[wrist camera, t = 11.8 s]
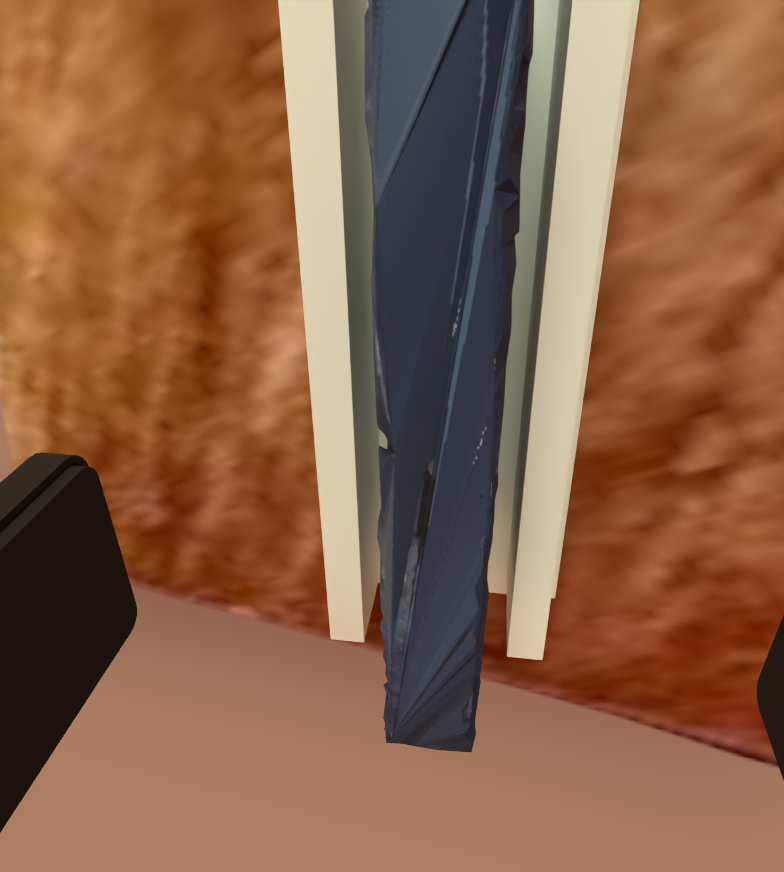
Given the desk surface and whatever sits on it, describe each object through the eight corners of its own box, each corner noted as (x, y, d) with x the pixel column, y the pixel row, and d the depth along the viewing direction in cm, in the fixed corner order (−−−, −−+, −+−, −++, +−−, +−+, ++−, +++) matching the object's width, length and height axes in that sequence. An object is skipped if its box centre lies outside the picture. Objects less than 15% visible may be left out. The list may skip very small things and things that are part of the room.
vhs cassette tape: (482, 524, 26) (473, 761, 17) (405, 517, 26) (358, 745, 17) (546, -73, 17) (593, -206, 8) (426, -73, 17) (347, -199, 8)
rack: (668, -250, 15) (734, -368, 11) (553, 584, 28) (563, 682, 23) (285, -223, 16) (209, -319, 12) (339, 566, 29) (310, 656, 25)
